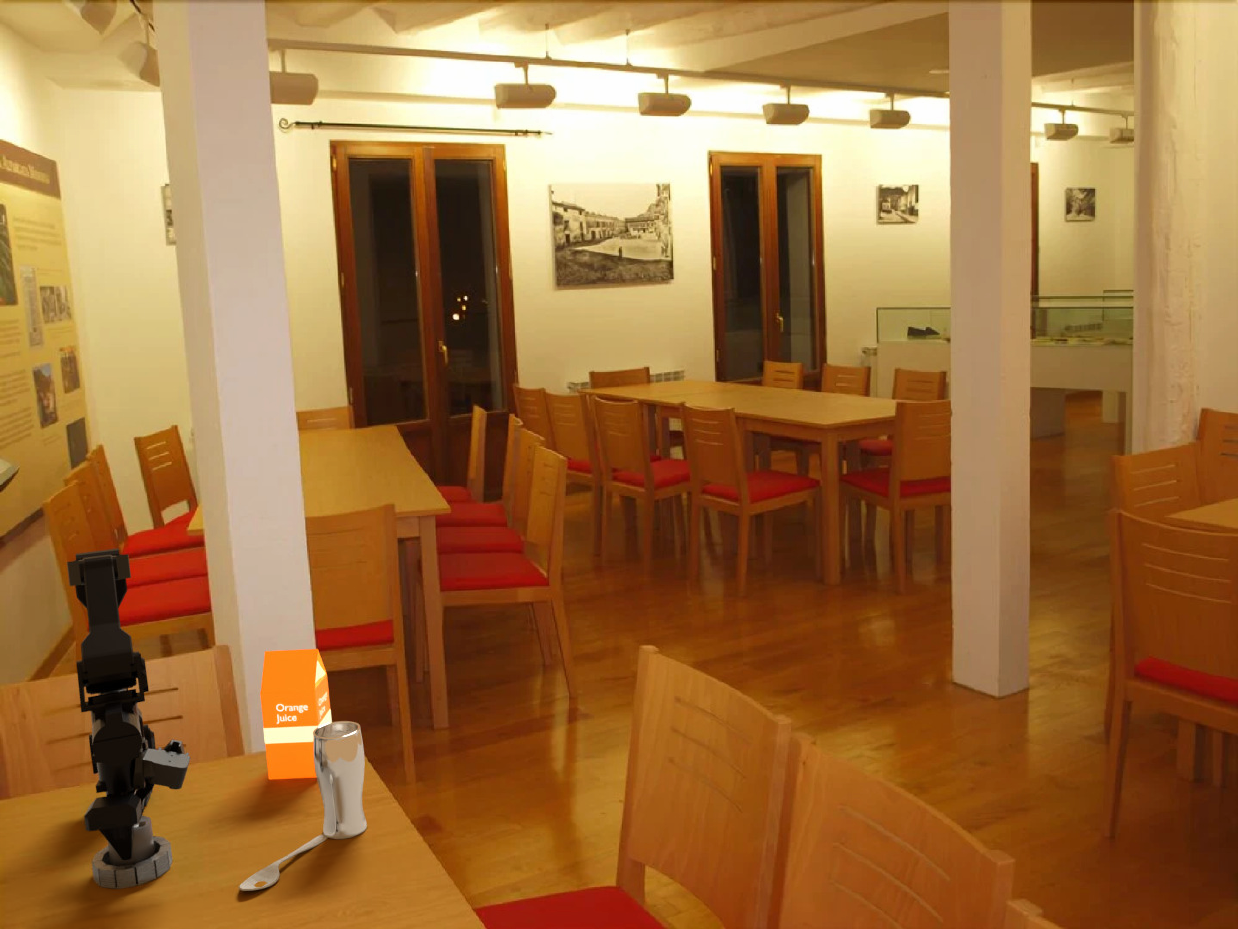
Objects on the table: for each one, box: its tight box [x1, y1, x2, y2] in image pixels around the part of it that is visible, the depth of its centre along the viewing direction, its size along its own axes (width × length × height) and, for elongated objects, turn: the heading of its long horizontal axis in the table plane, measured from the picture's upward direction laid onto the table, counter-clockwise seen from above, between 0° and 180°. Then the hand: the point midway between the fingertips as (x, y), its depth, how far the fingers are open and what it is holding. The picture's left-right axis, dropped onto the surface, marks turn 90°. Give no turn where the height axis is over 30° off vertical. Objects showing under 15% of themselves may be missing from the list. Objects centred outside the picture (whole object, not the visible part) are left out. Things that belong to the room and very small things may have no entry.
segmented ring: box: [91, 835, 173, 890], centre depth 156 cm, size 10×10×2 cm
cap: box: [106, 815, 155, 866], centre depth 156 cm, size 6×6×5 cm
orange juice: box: [259, 648, 333, 780], centre depth 187 cm, size 8×9×20 cm
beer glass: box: [313, 720, 368, 840], centre depth 164 cm, size 7×7×15 cm
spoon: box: [238, 833, 328, 892], centre depth 157 cm, size 4×21×2 cm, turn 158°
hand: (131, 849), depth 156 cm, fingers closed on cap, 6 cm apart
